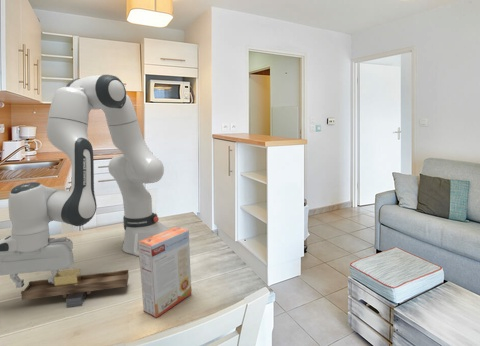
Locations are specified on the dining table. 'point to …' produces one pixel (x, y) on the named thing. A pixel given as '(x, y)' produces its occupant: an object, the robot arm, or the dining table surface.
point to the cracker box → (165, 270)
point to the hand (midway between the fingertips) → (36, 284)
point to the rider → (67, 277)
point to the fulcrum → (75, 299)
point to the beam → (77, 285)
